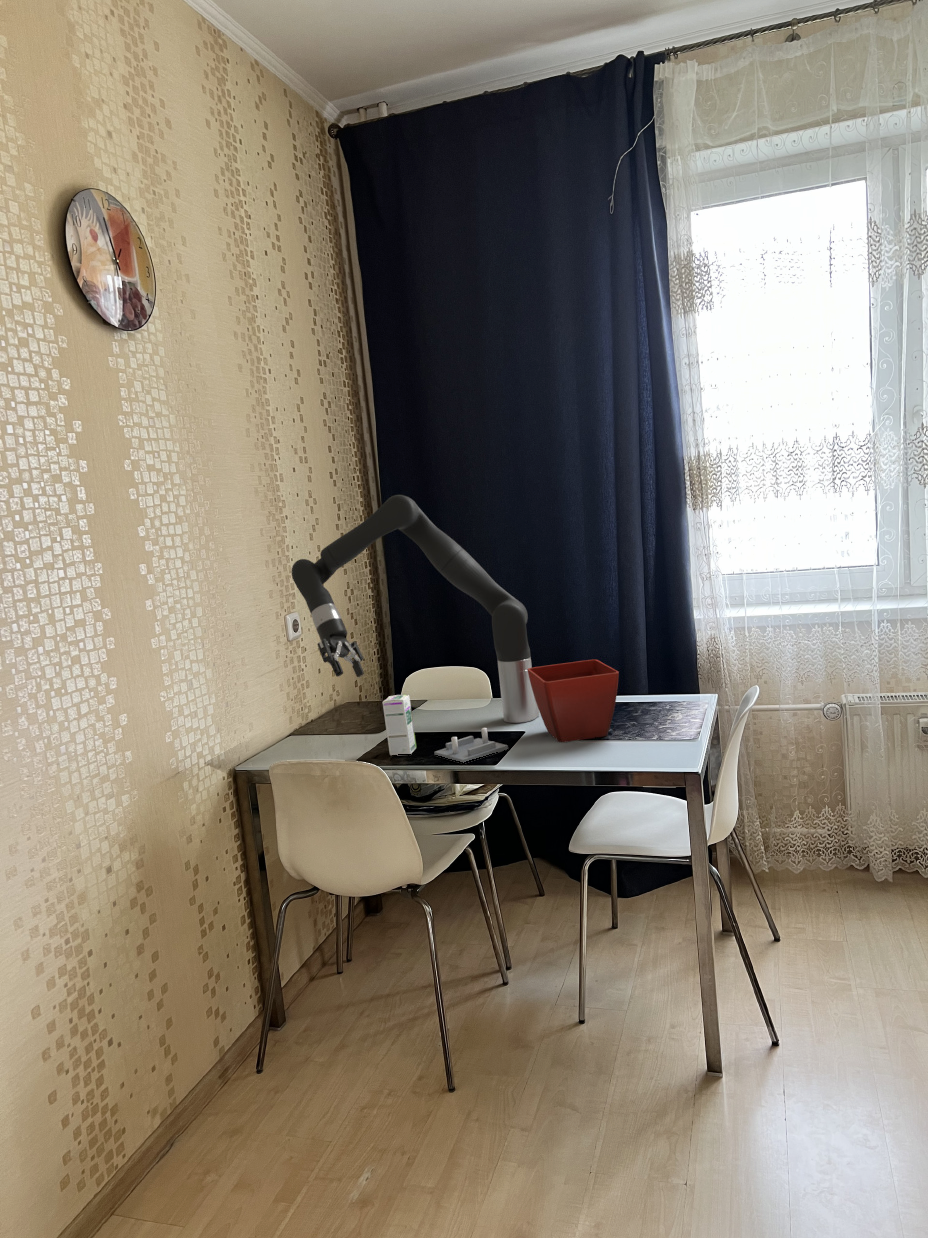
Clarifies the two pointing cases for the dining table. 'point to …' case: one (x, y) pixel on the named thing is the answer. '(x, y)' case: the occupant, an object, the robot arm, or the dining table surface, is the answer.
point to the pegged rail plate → (470, 748)
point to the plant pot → (575, 698)
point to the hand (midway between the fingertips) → (350, 675)
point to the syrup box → (399, 724)
